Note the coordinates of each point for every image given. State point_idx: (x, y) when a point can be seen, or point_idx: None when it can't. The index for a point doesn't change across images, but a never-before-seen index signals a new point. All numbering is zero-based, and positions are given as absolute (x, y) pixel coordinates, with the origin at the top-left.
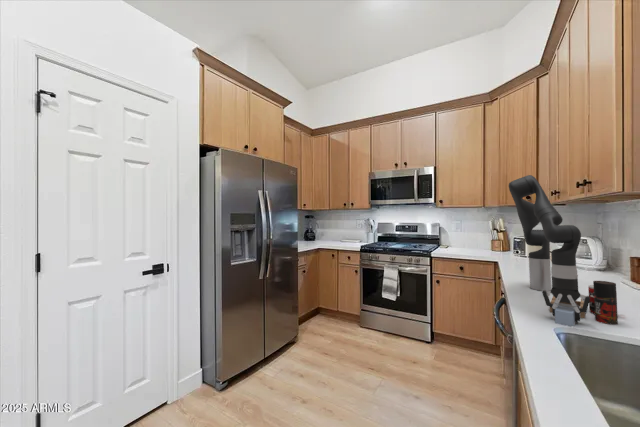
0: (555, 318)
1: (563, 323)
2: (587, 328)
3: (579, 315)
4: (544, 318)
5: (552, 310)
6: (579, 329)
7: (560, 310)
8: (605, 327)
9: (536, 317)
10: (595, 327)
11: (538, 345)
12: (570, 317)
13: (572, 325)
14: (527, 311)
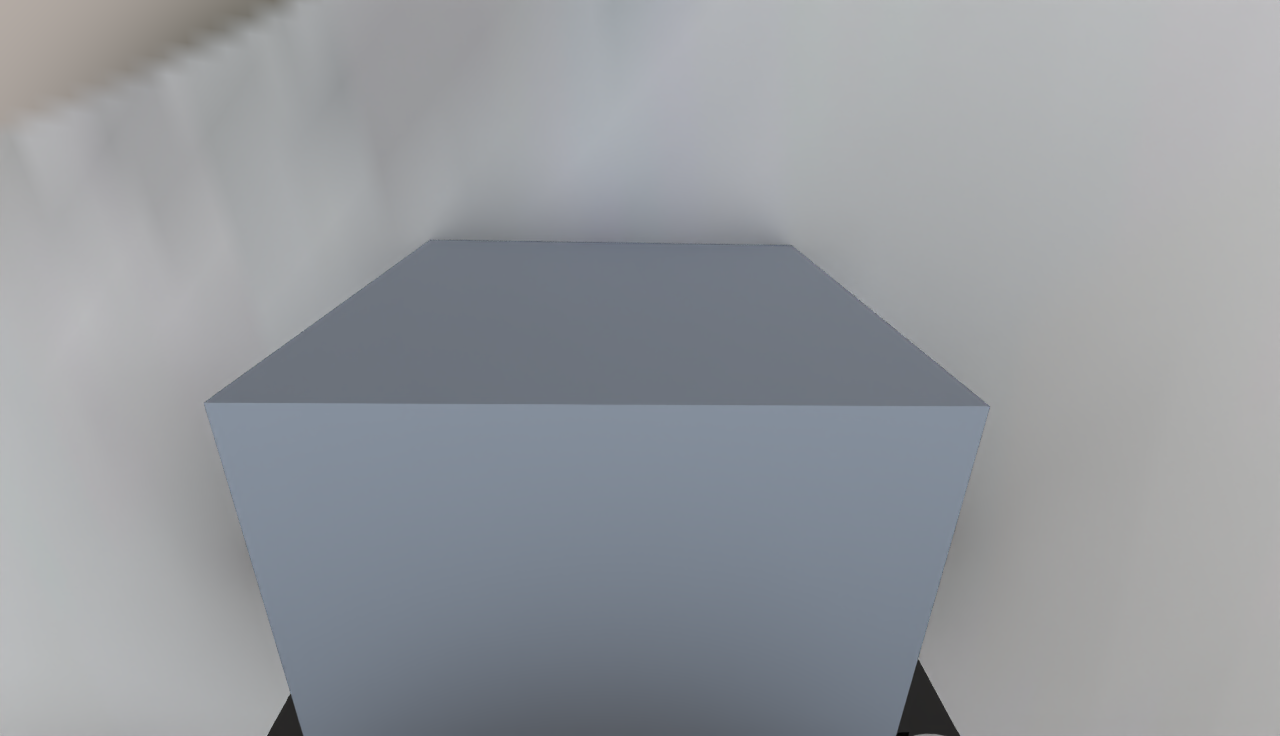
0: (825, 280)
1: (627, 253)
2: (201, 358)
3: (290, 716)
4: (992, 433)
5: (929, 689)
6: (281, 130)
7: (747, 540)
8: (45, 646)
9: (1153, 384)
10: (139, 535)
11: None
12: (399, 316)
13: (437, 246)
14: (1243, 649)
